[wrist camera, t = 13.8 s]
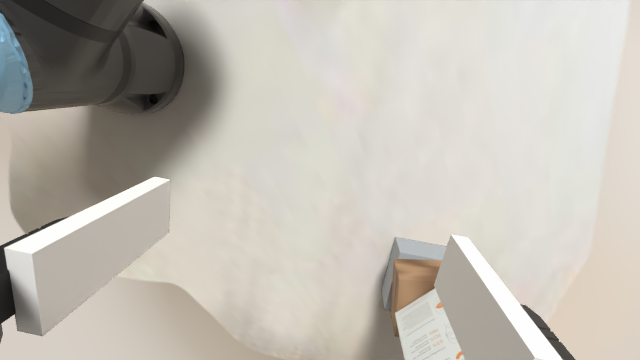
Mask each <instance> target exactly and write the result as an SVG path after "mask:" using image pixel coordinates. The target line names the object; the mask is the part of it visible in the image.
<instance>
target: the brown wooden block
mask: <svg viewBox="0 0 640 360" xmlns="http://www.w3.org/2000/svg"><path fill="white" fill-rule="evenodd" d="M441 263H442V261H441V260H414V259H394V264H393V279H392V294H391V310H390V311H391V317H392V322H393V328H394V334H395V336H398V337H399V332H398V327H397V322H396V317H395V313H396V312H398V311H399V310H401V309H402V308H404V307H406V306H407V305H409V304H410V303H412V302H414V301H415V300H417V299H418V298H420V297H421V296H423V295H425V294H426V293H428V292H429V291H431V290H433V289H434V288H435V287H434V283H435V280H436V277H437V274H438V271H439V268H440V265H441Z"/></svg>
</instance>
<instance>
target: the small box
mask: <svg viewBox="0 0 640 360" xmlns="http://www.w3.org/2000/svg"><path fill="white" fill-rule="evenodd" d="M395 317H396V322H397V327H398V332H399V337H400V342H401V346H402V351H403V356H404V360H465V358H464V355H463V353H462V351H461V348H460V346H459V344H458V341H457V339H456V336H455V334H454V332H453V329H452V327H451V325H450V322H449V320H448V318H447V315H446V313H445V310H444V308H443V306H442V303H441V301H440V299H439V296H438V294H437V292H436V289H435V288H434V289H433V290H431V291H429V292H428V293H426V294H425V295H423V296H421V297H420V298H418V299H417V300H415V301H414V302H412V303H410V304H409V305H407V306H406V307H404V308H402V309H401V310H399V311H398V312H396V313H395Z"/></svg>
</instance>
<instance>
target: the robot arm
mask: <svg viewBox="0 0 640 360" xmlns="http://www.w3.org/2000/svg"><path fill="white" fill-rule="evenodd" d="M143 1H144V0H0V112H4V113H11V114H16V113H21V112H26V111H36V110H46V109H56V108H66V107H77V106H87V105H97V106H101V107H104V108H107V109H110V110H113V111H116V112H119V113H124V114H143V113H150V112H154V111H157V110H159V109H161V108H163V107H164V106H166V105H167V104H168V103H169V102H170V101H171V100H172V99H173V98H174V97H175V95H176V94H177V92H178V90H179V88H180V86H181V83H182V79H183V73H184V59H183V53H182V49H181V45H180V43H179V40H178V38H177V36H176V34H175V32H174V30H173V29H172V27H171V26H170V24H169V23H168V22H167V21H166V19H165V18H164V17H163V16H162V15H161V14H160V13H158V12H157V11H156V10H155V9H153V8H152V7H150V6H148V5H146V4H144V3H142V2H143ZM169 219H170V180H169V179H164V178H159V177H153V178H151V179H149V180H146V181H144V182H142V183H140V184H138V185H136V186H134V187H132V188H130V189H127V190H125V191H123V192H121V193H119V194H117V195H115V196H113V197H111V198H108V199H106V200H104V201H102V202H100V203H98V204H96V205H94V206H92V207H90V208H87V209H85V210H83V211H81V212H79V213H77V214H75V215H73V216H70V217H66V218H62V219H58V220H55V221H53V222H51V223H48V224H46V225H44V226H42V227H41V228H40V229H39V228H38V229H35V230H33V231H31V232H29V234H25V235H23V236H20V237H18V238H16V239H14V240H12V241H9V242H7V243H5V244H3V245H1V246H0V342H1V338H2V335H3V332H2V325H1V323H2V322H4V321H5V320H7V319H8V318H10V317H11V316H12V315H14V314H15V319H16V324H17V331H21V332H25V333H30V334H35V335H40V336H43V335H45V334H46V333H47V332H48V331H50V330H51V329H52V328H53V327H54V326H55V325H57V324H58V323H59V322H61V321H62V320H63V319H64V318H65V317H67V316H68V315H69V314H70V313H71V312H73V311H74V310H75V309H76V308H78V307H79V306H80V305H81V304H82V303H83V302H85V301H86V300H87V299H88V298H90V297H91V296H92V295H93V294H94V293H96V292H97V291H98V290H99V289H101V288H102V287H103V286H104V285H105V284H107V283H108V282H109V281H110V280H112V279H113V278H114V277H115V276H116V275H118V274H119V273H120V272H121V271H123V270H124V269H125V268H126V267H127V266H129V265H130V264H131V263H132V262H133V261H135V260H136V259H137V258H138V257H140V256H141V255H142V254H143V253H144V252H146V251H147V250H148V249H149V248H151V247H152V246H153V245H154V244H155V243H157V242H158V241H159V240H160V239H161V238H163V237H164V236H165V235H166V234H168V233H169ZM434 287H435V289H436V292H437V294H438V296H439V299H440V301H441V303H442V306H443V308H444V310H445V313H446V315H447V318H448V320H449V322H450V325H451V327H452V329H453V332H454V334H455V336H456V339H457V341H458V344H459V346H460V348H461V351H462V353H463V355H464V358H465V360H575V359H574V357H573V356H572V355H571V354H570V353H569V352H568V350H567V349H566V348H565V346H564V345H563V344H562V343H561V342H559V339H558V338H557V337H556V336H555V334H554V333H553V332H551V331H550V328H549V327H548V326H547V325H546V323H545V322H544V321H543V320H542V319H541V317H540V316H538V315H537V314H536V313H535V312H533V311H532V310H531V309H530V308H528V307H527V306H526V305H521V304H519V303H518V301H517V300H516V299H515V298H514V296H513V295H512V294H511V292H510V291H509V290H508V289H507V287H506V286H505V285H504V283H503V282H502V281H501V280H500V278H499V277H498V276H497V274H496V273H495V272H494V271H493V269H492V268H491V267H490V265H489V264H488V263H487V262H486V260H485V259H484V258H483V256H482V255H481V254H480V253H479V251H478V250H477V249H476V247H475V246H474V245H473V244H472V242H471V241H470V240H469V238H467V237H462V236H457V235H452V234H451V236H450V239H449V242H448V245H447V248H446V251H445V254H444V257H443V260H442V263H441V265H440V268H439V271H438V274H437V277H436V280H435V283H434Z"/></svg>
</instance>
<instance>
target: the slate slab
mask: <svg viewBox="0 0 640 360" xmlns="http://www.w3.org/2000/svg"><path fill="white" fill-rule="evenodd" d="M446 248H447V246H442V245H437V244H431V243H426V242H420V241H415V240H409V239H404V238H399V237H395V240H394V244H393V248H392V252H391V256H390V259H389V263H388V267H387V271H386V275H385V279H384V282H383V286H382V296H383V303H384V309H385V310H391V294H392V279H393V264H394V259H414V260H441V261H442V260H443V257H444V254H445V251H446Z"/></svg>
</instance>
